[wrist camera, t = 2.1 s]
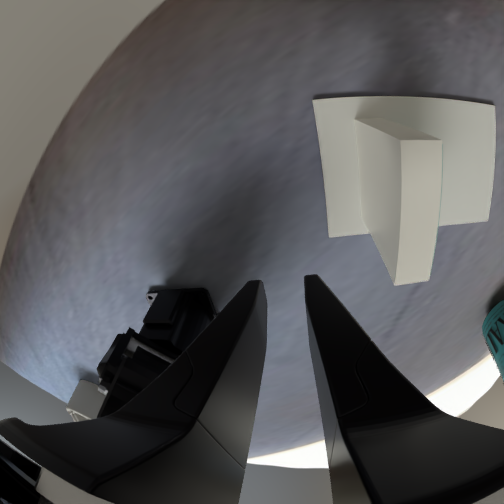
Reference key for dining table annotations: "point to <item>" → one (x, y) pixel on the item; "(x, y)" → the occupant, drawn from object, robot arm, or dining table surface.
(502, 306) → the beverage bottle
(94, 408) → the white bumpy block
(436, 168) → the rectangular block
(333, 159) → the felt mat
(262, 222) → the dining table surface
